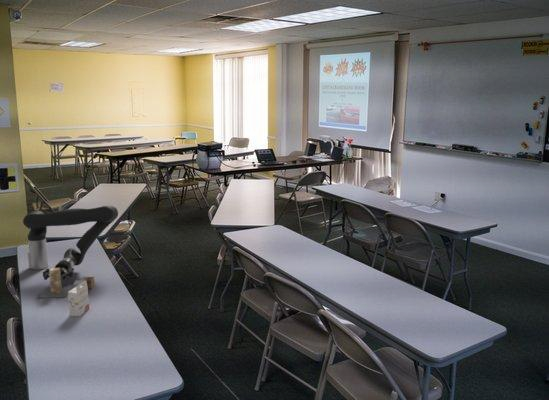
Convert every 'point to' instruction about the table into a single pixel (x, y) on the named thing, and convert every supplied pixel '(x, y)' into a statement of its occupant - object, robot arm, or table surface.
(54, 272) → the maple block
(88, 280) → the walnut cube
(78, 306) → the ink cartridge box
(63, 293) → the slate mat
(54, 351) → the table surface
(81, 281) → the grey block
